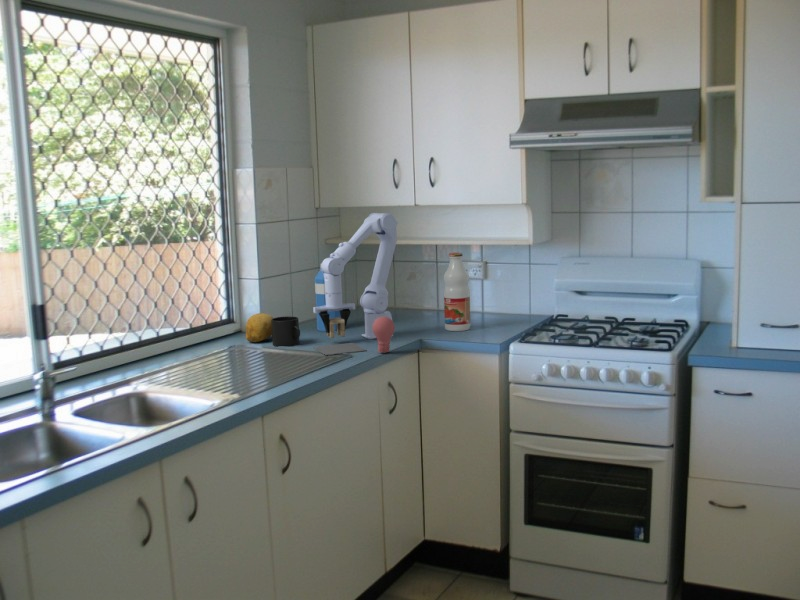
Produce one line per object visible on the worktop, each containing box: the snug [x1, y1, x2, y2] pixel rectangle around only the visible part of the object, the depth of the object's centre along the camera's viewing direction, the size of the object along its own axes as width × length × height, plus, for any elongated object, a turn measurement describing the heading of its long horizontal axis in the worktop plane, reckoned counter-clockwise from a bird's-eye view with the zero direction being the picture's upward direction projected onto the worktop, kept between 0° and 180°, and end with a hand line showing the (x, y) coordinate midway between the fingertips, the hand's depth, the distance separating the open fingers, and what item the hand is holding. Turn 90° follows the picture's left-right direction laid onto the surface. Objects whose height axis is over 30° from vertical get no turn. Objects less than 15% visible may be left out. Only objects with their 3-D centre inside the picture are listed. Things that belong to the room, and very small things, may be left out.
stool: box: [326, 318, 346, 339], centre depth 294 cm, size 5×5×6 cm
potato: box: [245, 312, 274, 343], centre depth 304 cm, size 10×12×10 cm
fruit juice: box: [443, 252, 471, 332], centre depth 311 cm, size 9×9×28 cm
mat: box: [313, 342, 368, 356], centre depth 284 cm, size 14×14×1 cm
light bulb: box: [373, 317, 396, 354], centre depth 275 cm, size 7×7×12 cm
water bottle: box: [314, 262, 341, 332], centre depth 321 cm, size 9×9×25 cm
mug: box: [271, 315, 301, 347], centre depth 295 cm, size 9×12×9 cm
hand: (335, 331), depth 294 cm, fingers closed on stool, 5 cm apart
